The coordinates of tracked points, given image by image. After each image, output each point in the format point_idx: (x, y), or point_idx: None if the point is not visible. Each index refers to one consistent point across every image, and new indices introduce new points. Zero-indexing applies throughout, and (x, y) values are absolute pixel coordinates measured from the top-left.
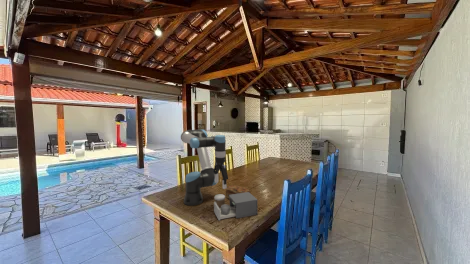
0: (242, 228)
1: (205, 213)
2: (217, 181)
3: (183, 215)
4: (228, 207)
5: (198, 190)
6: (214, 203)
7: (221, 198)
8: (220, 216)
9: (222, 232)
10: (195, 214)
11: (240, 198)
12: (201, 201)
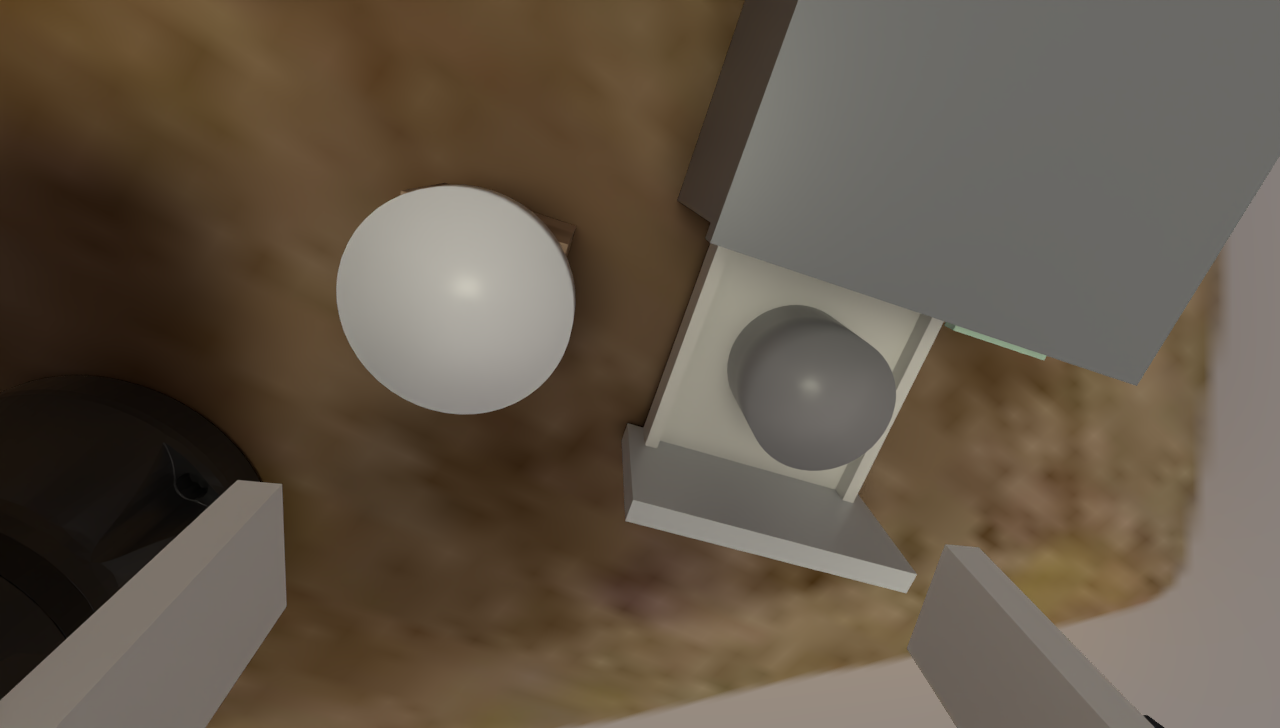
0: (1163, 381)
1: (579, 533)
2: (262, 546)
3: (467, 723)
4: (893, 388)
5: (45, 627)
6: (661, 524)
7: (570, 332)
8: (855, 494)
9: (1036, 572)
10: (527, 627)
11: (1075, 148)
12: (220, 454)
